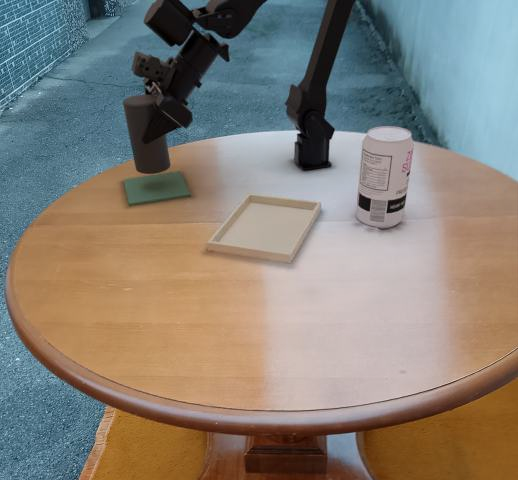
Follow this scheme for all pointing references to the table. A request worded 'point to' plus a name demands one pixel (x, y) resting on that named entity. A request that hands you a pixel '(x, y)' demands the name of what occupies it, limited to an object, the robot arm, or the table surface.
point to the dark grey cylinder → (138, 119)
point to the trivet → (156, 188)
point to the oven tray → (266, 228)
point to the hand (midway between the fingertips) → (140, 136)
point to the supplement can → (384, 176)
